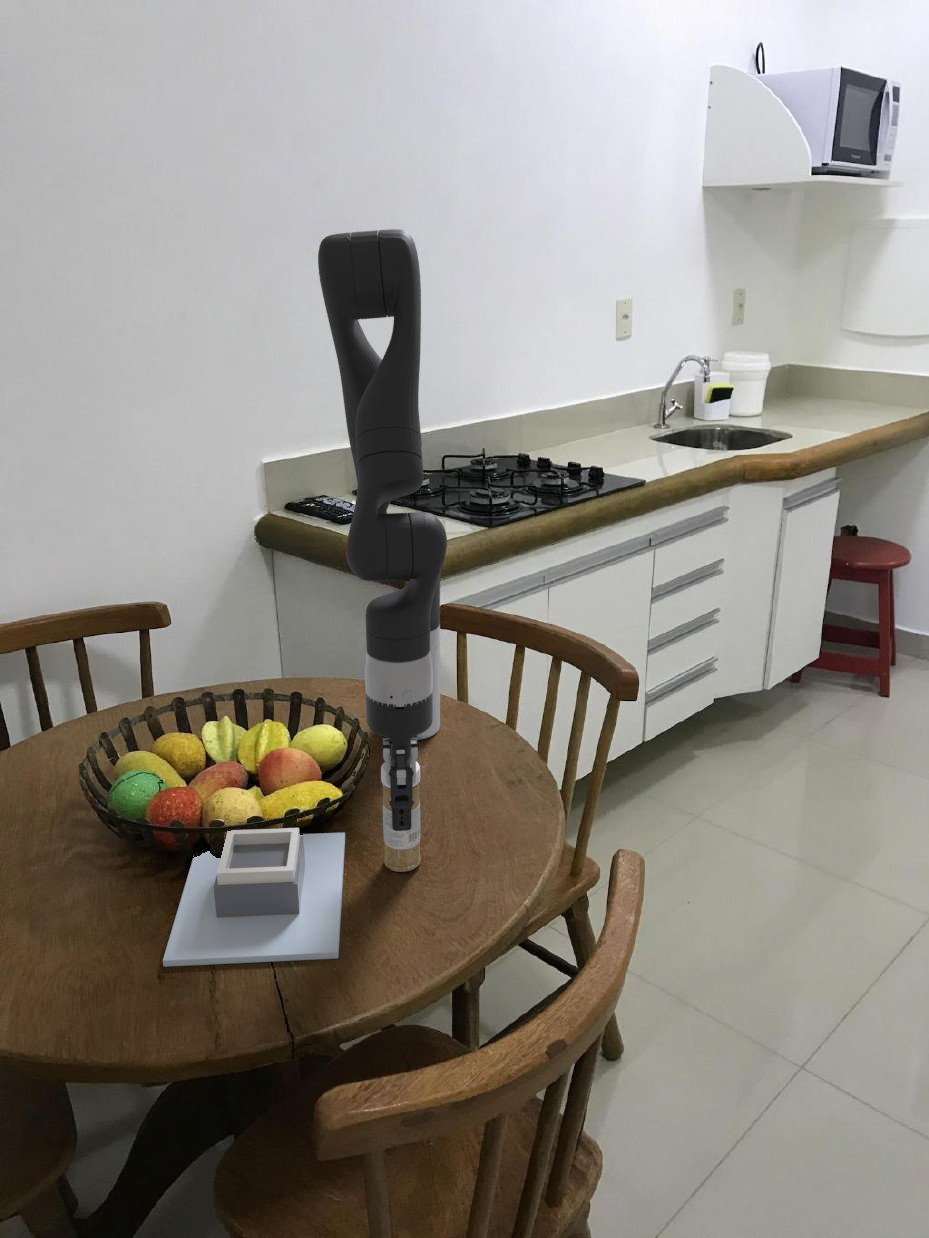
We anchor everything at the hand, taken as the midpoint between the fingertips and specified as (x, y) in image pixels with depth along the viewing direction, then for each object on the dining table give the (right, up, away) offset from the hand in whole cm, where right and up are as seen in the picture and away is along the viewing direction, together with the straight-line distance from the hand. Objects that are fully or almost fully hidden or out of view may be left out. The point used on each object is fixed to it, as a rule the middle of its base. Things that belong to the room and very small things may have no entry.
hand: (401, 816), depth 116 cm
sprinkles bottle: (0, -6, +2) cm, 7 cm away
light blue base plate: (-16, -8, -4) cm, 18 cm away
